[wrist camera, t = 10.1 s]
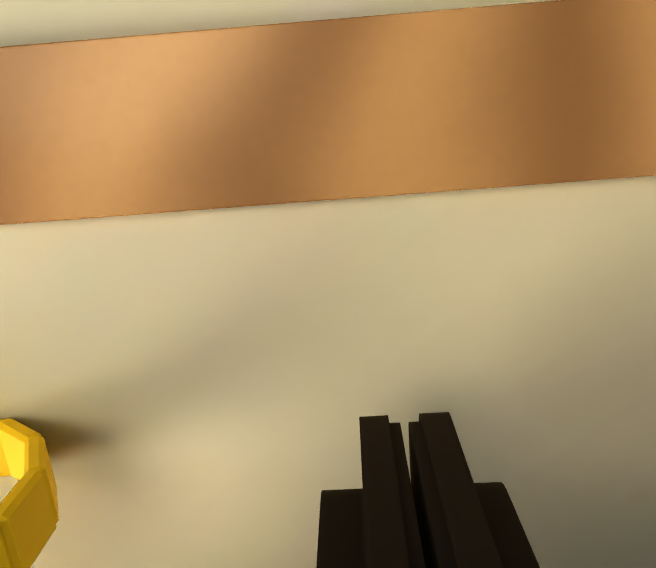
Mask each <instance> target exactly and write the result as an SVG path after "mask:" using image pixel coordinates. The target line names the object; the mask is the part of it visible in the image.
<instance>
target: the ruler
mask: <svg viewBox="0 0 656 568" xmlns="http://www.w3.org/2000/svg"><path fill="white" fill-rule="evenodd" d="M653 175H656V0H556V1H544V2H532V3H520V4H508V5H496V6H484V7H472V8H460V9H448V10H436V11H424V12H412V13H400V14H388V15H376V16H364V17H352V18H340V19H328V20H316V21H304V22H292V23H280V24H268V25H256V26H244V27H232V28H220V29H208V30H196V31H184V32H172V33H160V34H148V35H136V36H124V37H112V38H100V39H88V40H76V41H64V42H52V43H40V44H28V45H16V46H4V47H0V225H2V224H15V223H29V222H42V221H55V220H69V219H82V218H95V217H108V216H122V215H135V214H148V213H162V212H175V211H188V210H201V209H215V208H228V207H241V206H255V205H268V204H281V203H294V202H308V201H321V200H334V199H348V198H361V197H374V196H387V195H401V194H414V193H427V192H441V191H454V190H467V189H481V188H494V187H507V186H520V185H534V184H547V183H560V182H574V181H587V180H600V179H613V178H627V177H640V176H653Z"/></svg>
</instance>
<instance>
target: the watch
mask: <svg viewBox="0 0 656 568" xmlns="http://www.w3.org/2000/svg"><path fill="white" fill-rule="evenodd" d="M10 475H12V476H14V477H15V478H17V479H18V480H19V482H18V483H17V484H16V485H15V486H14V488H13V489H12V490H11V491H10V492H9V494H8V495H7V496H6V497H5V498H4V500H3V501H2V502H1V503H0V568H30V567H31V566H32V564H33V563H34V561H35V560H36V558H37V556H38V555H39V553H40V552H41V550H42V549H43V547H44V546H45V544H46V543H47V541H48V540H49V538H50V536H51V535H52V533H53V532H54V530H55V529H56V523H57V522H58V520H59V516H58V502H57V488H56V483H55V479H54V475H53V471H52V467H51V463H50V459H49V455H48V451H47V447H46V443H45V439H44V438H42V435H41V434H40V433H38V432H36V431H34V430H32V429H30V428H28V427H27V426H25V425H23V424H21V423H19V422H17V421H16V420H13V419H10V418H8V419H3V420H0V477H1V476H10Z"/></svg>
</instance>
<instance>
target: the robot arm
mask: <svg viewBox="0 0 656 568" xmlns="http://www.w3.org/2000/svg"><path fill="white" fill-rule="evenodd" d="M359 420H360V440H361V461H362V482H363V489H344V490H323V491H322V492H321V502H320V519H319V535H318V552H317V568H540V567H539V564H538V562H537V560H536V557H535V555H534V553H533V550H532V548H531V546H530V543H529V541H528V539H527V536H526V534H525V532H524V529H523V527H522V525H521V522H520V520H519V518H518V515H517V513H516V510H515V508H514V506H513V503H512V501H511V499H510V496H509V494H508V492H507V489H506V488H505V486H504V484H503V483H501V482H490V483H474V482H473V479H472V476H471V473H470V470H469V468H468V465H467V462H466V459H465V456H464V453H463V450H462V447H461V445H460V442H459V439H458V436H457V433H456V430H455V427H454V424H453V421H452V419H451V416H450V413H449V412H441V413H422V414H419V422H409V451H410V476H411V482H410V476H409V471H408V465H407V459H406V454H405V448H404V442H403V437H402V431H401V426H400V423H389V419H388V415H385V416H367V417H359Z"/></svg>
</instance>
